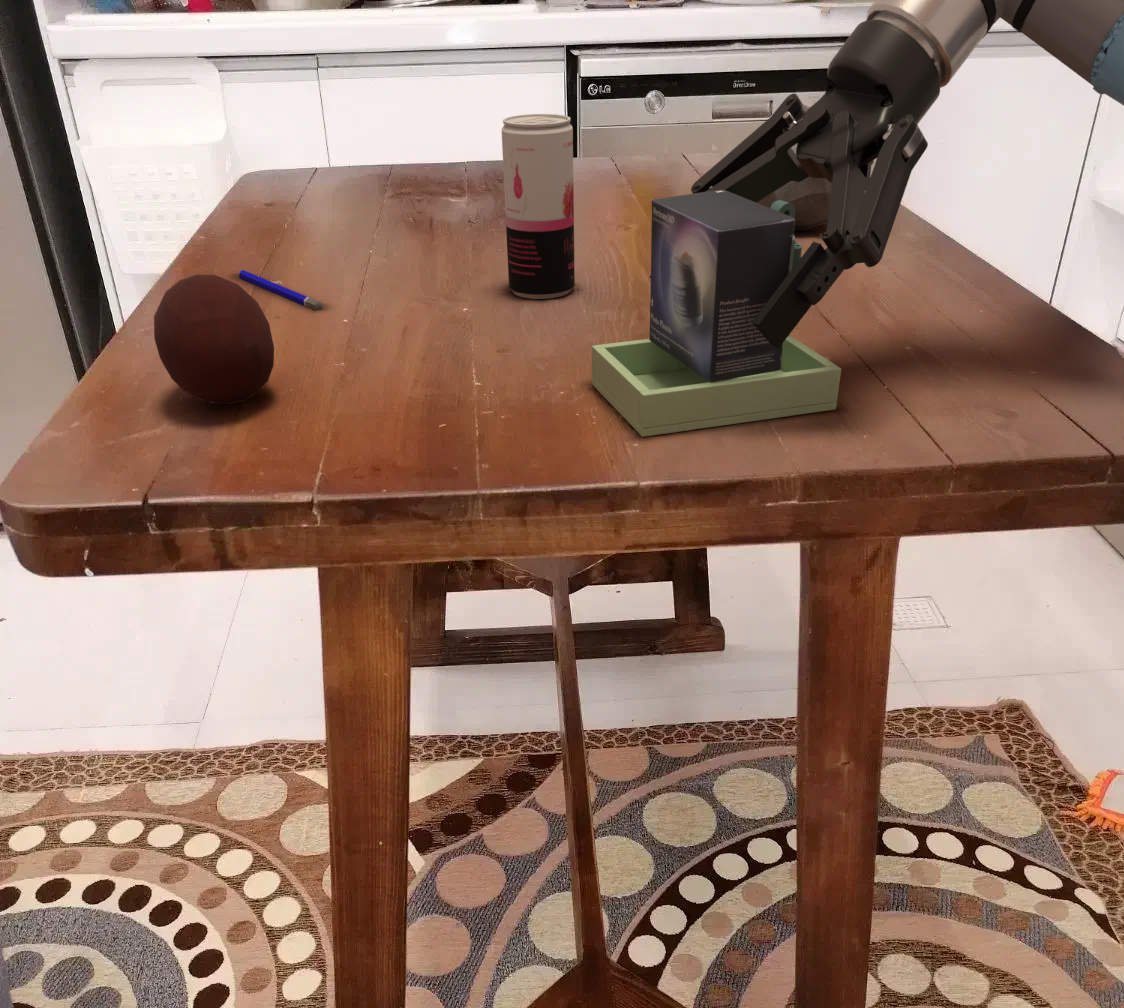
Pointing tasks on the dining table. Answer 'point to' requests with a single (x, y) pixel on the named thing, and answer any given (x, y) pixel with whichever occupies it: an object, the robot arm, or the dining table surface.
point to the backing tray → (708, 388)
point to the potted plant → (804, 200)
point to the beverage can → (539, 204)
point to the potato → (214, 339)
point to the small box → (716, 281)
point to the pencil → (281, 290)
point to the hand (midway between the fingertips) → (710, 311)
